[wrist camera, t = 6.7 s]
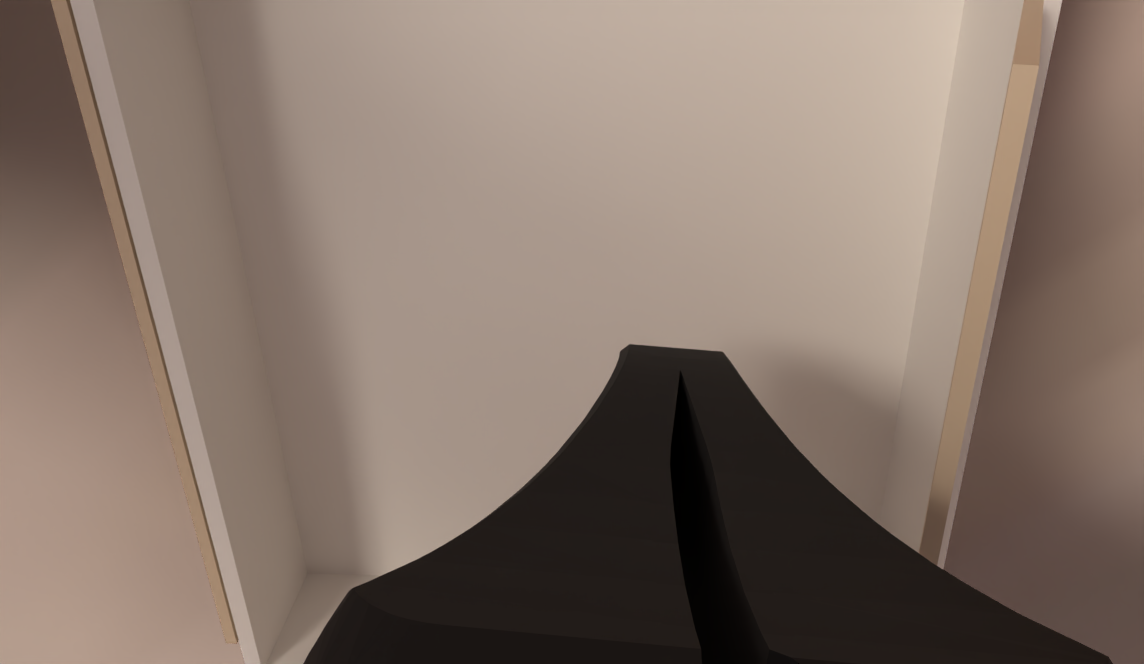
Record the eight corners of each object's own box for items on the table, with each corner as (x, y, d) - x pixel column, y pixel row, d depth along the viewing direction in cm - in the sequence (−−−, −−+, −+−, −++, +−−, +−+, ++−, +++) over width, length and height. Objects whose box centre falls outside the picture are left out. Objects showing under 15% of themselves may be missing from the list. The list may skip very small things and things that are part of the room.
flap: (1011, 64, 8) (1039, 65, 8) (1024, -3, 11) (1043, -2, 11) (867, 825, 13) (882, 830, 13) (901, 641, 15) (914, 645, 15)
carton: (123, -195, 13) (-4, -199, 11) (1014, -223, 13) (1111, -235, 10) (290, 570, 20) (236, 682, 18) (878, 588, 19) (913, 710, 17)
